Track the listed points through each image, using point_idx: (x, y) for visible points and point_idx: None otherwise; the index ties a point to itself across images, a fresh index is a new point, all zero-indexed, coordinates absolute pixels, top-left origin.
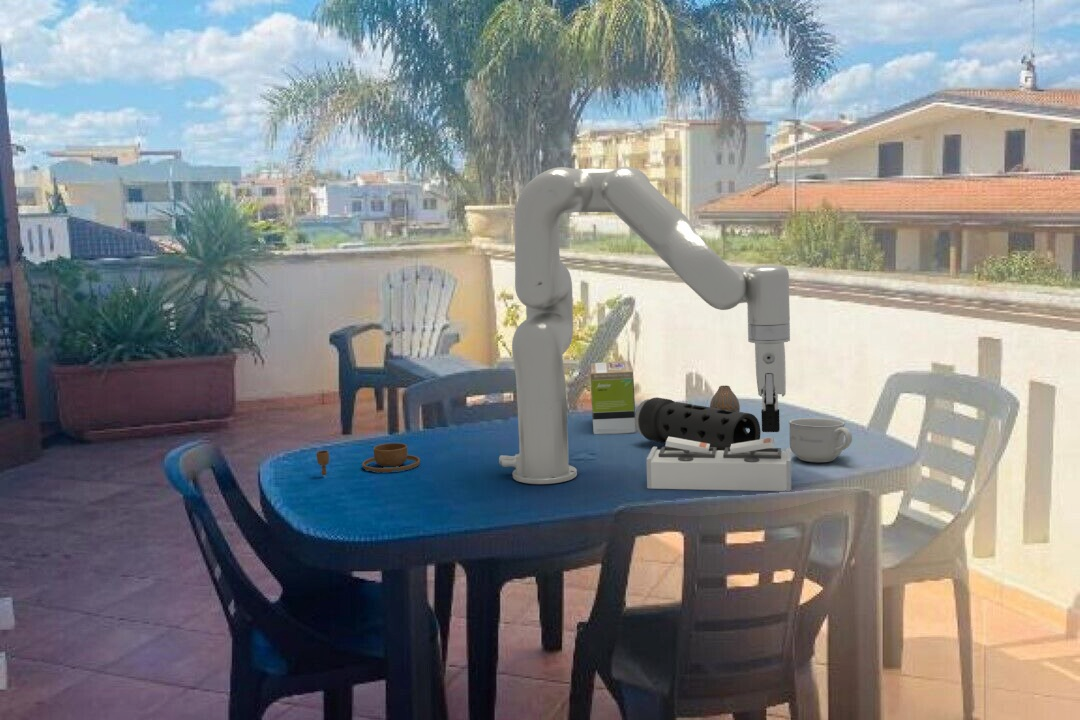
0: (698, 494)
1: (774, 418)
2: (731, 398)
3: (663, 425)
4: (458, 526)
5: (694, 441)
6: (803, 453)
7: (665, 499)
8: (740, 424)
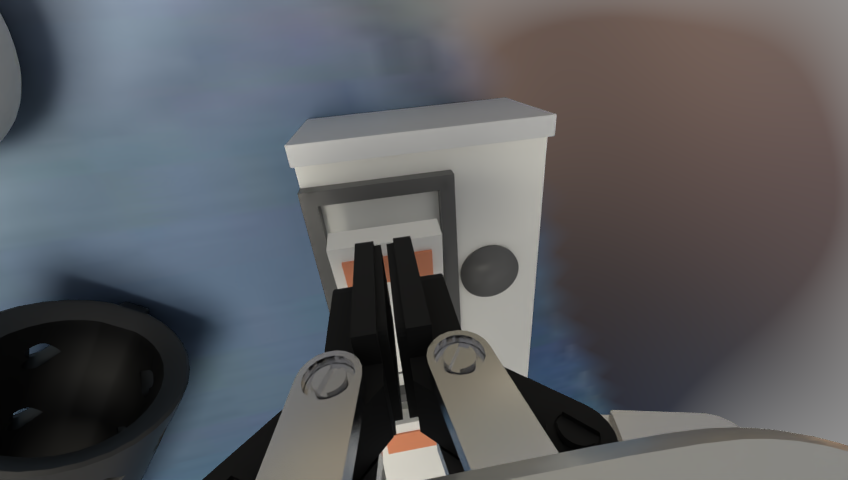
0: (540, 327)
1: (452, 310)
2: None
3: None
4: None
5: (390, 468)
6: (18, 91)
7: (579, 370)
8: None
